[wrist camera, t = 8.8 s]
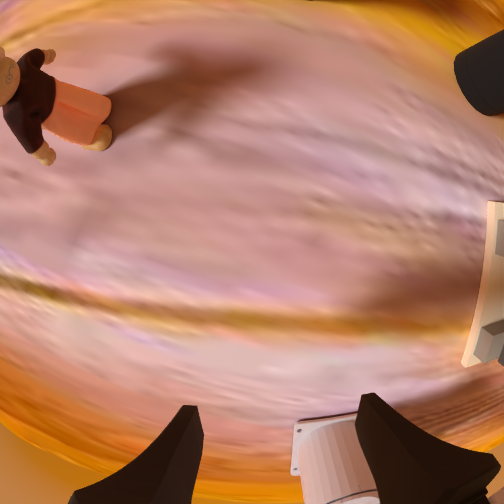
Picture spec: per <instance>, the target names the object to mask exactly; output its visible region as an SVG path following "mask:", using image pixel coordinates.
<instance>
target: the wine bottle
mask: <svg viewBox="0 0 504 504" xmlns="http://www.w3.org/2000/svg"><path fill="white" fill-rule="evenodd" d="M454 72H455V75H456V79H457V82H458V84H459V86H460V88H461V91H462V93H463V94H464V96H465V97H466V99H467V100H468V102H469V103H470V104H471V105H472V106H473V107H474V108H475V109H476V110H477V111H479V112H480V113H482V114H484V115H488V116H492V115H496V114H501V113H504V30H502V31H500V32H498V33H496V34H494V35H492V36H490V37H488V38H486V39H484V40H482V41H480V42H479V43H477V44H475V45H473V46H471V47H469V48H468V49H466V50H464V51H462V52H460V53H459V54H458V55H457V56H456V58H455V61H454Z"/></svg>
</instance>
